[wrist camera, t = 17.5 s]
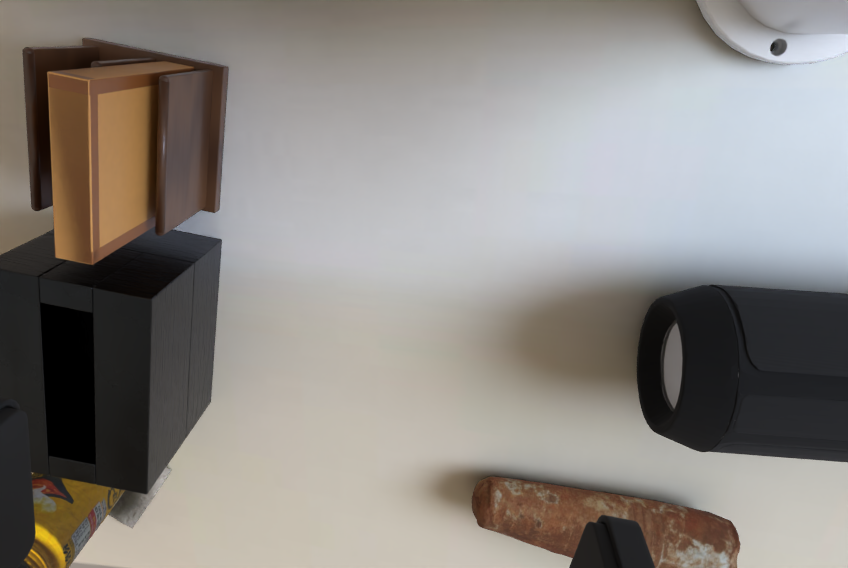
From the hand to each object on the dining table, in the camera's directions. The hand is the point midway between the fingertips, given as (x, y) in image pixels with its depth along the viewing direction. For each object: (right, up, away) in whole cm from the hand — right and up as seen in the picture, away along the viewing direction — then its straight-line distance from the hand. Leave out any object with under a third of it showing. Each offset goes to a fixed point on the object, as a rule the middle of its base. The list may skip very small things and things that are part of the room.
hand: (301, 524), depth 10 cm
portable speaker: (+29, 0, +31) cm, 43 cm away
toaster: (-17, +2, +33) cm, 37 cm away
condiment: (-23, -11, +39) cm, 47 cm away
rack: (-15, +14, +28) cm, 35 cm away
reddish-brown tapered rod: (+15, -14, +38) cm, 43 cm away
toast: (-13, +13, +27) cm, 33 cm away
